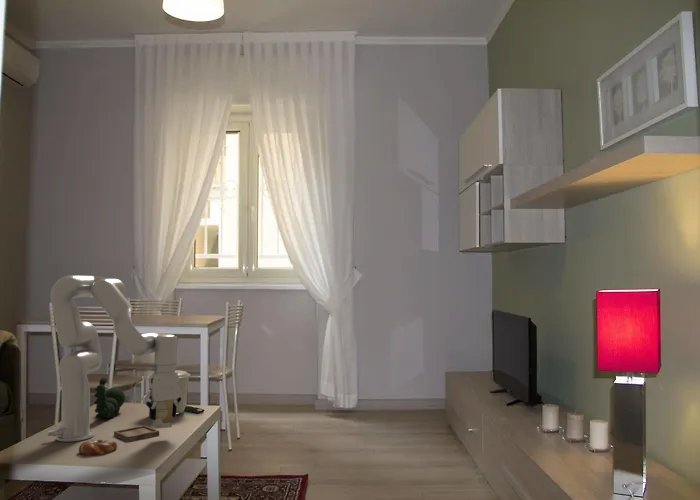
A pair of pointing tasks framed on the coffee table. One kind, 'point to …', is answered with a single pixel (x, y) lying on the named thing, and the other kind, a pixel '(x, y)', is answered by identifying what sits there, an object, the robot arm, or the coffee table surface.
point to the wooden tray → (136, 433)
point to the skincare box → (163, 414)
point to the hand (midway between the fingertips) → (162, 417)
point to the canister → (183, 387)
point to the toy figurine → (108, 400)
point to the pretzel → (97, 447)
